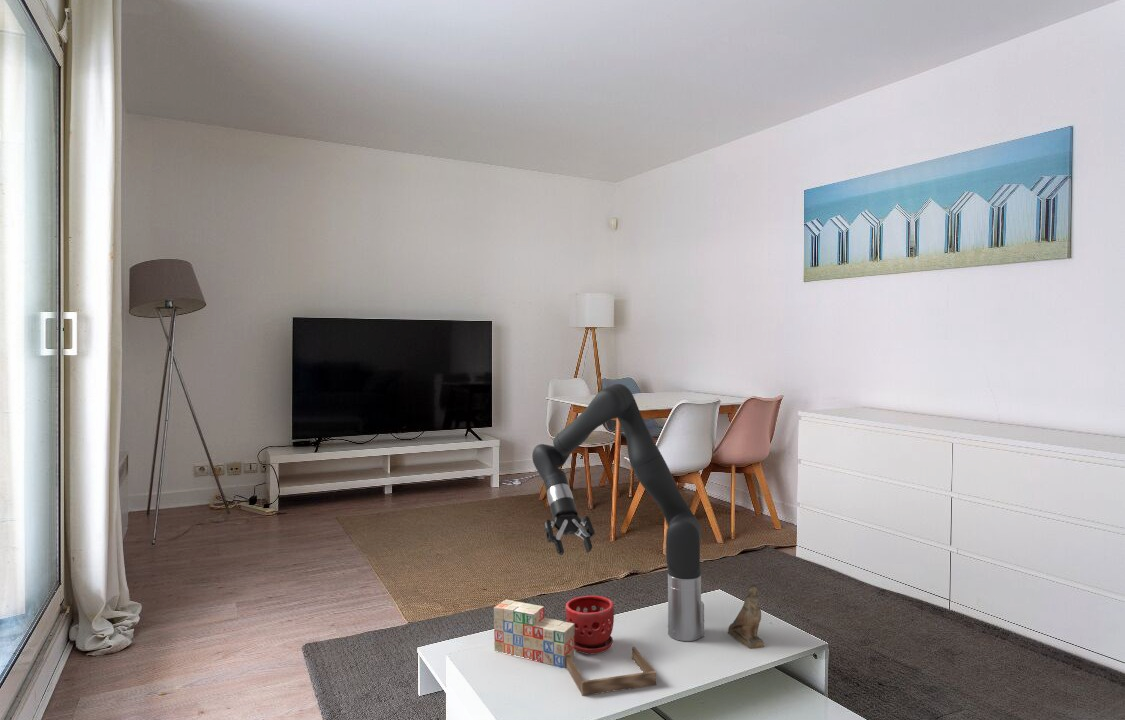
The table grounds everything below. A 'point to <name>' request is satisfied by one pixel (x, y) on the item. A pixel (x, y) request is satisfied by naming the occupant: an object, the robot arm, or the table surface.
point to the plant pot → (591, 623)
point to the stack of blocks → (532, 633)
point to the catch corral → (614, 682)
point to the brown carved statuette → (748, 621)
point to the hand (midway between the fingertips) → (575, 552)
